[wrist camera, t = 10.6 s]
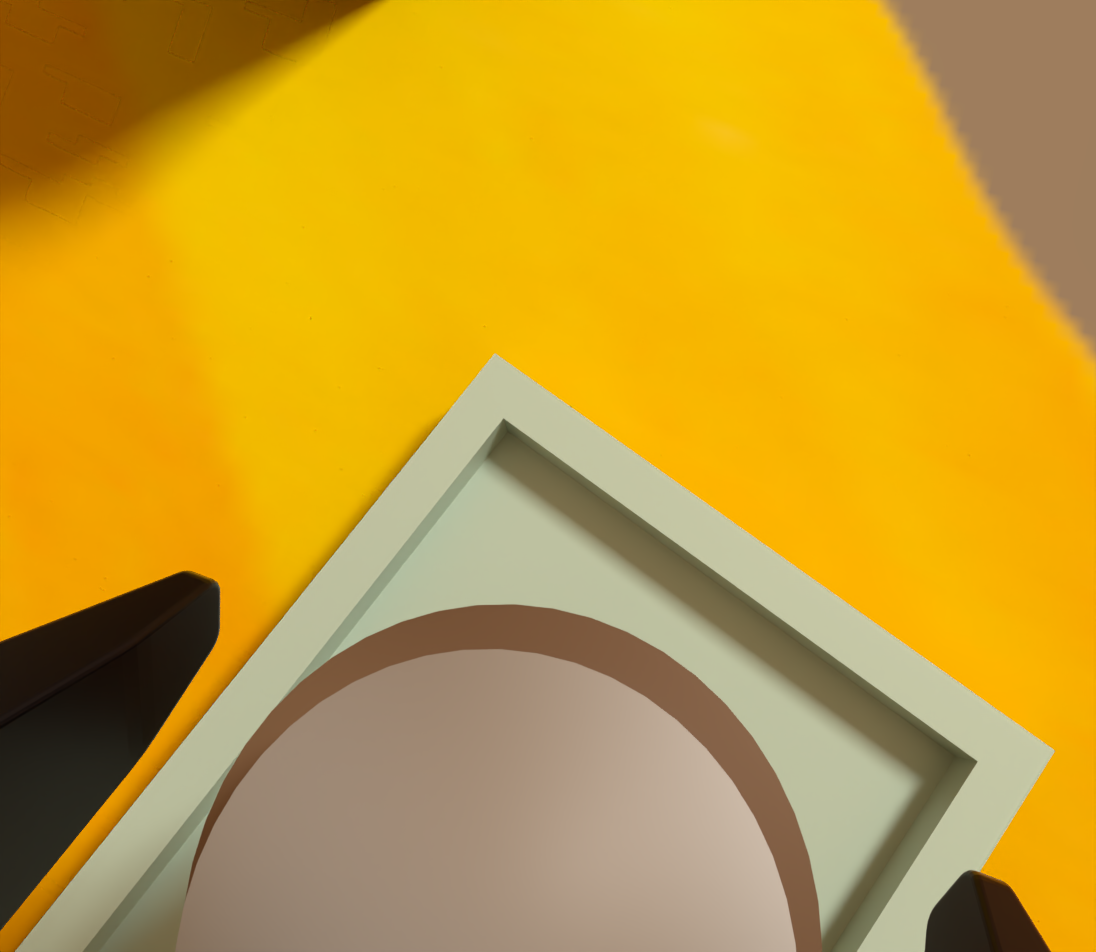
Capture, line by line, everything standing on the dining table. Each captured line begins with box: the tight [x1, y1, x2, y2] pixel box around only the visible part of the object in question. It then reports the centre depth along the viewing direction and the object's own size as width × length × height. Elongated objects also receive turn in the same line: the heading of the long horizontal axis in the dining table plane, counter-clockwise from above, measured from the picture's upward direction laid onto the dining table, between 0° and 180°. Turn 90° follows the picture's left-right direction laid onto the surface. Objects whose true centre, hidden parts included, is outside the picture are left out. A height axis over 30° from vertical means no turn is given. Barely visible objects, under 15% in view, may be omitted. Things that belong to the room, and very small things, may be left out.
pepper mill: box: [175, 604, 822, 952], centre depth 11 cm, size 5×5×12 cm
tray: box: [15, 354, 1055, 952], centre depth 17 cm, size 17×13×2 cm
